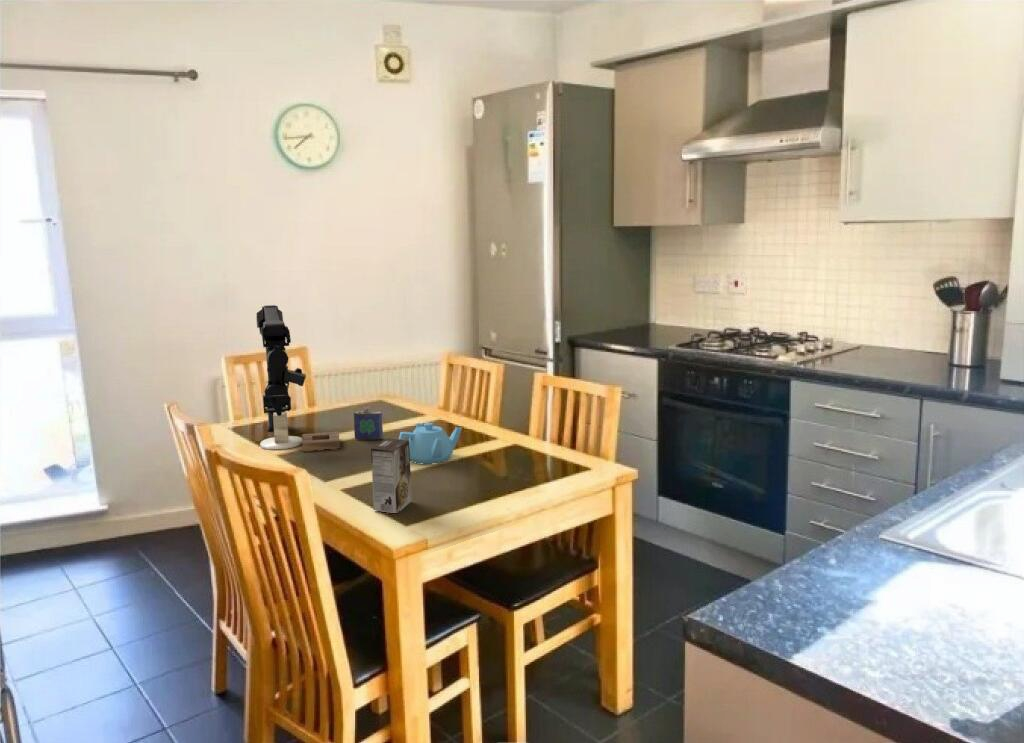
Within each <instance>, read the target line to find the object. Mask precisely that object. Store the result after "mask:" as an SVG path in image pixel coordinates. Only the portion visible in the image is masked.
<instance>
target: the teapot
mask: <svg viewBox="0 0 1024 743" xmlns="http://www.w3.org/2000/svg"><path fill="white" fill-rule="evenodd" d="M462 429H463V428H462V427H458V426H457V427H456V426H455V428H454V430H453V431H452V432H451V435H450V436H449V435H448V434H447V433H446V431H445V430H444V428H442V427H441V426H437V425H434V423H432V422H426V423H423V426H422V423H420V422H418V423H415V429H414V430H413V432H410V431H409V432H408V431H400V433H399V437H398V439H400V440H406V438H408V440H409V449H410V462H412V461H413V462H412V463H414V462H416V463H415V464H417V463H423V464H422V465H433V464H432V463H438V464H440V463H439V462H442V463H444V462H443V461H445V462H447V461H448V460H449V459H450V458H451V456H453V453H454V450H455V448H456V446H457V443H458V440H459V438H460V436H461V432H462ZM446 460H447V461H446Z"/></svg>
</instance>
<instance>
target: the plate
mask: <svg viewBox="0 0 1024 743" xmlns="http://www.w3.org/2000/svg"><path fill="white" fill-rule="evenodd" d="M288 439H289V440H288V443H278V444H275V438H274V436H273V437H269V438H266V439H263V440H262V441H261V442H260V443H259V444H260V445H259V446H260V448H262V449H264V450H268V449H269V450H271V449H273V450H271V451H279V450H278V449H283V450H289V449H288V448H290V449H294V448H293V447H295V448H298V447H300V446H301V444H302V437H300V436H295V435H288ZM299 445H300V446H299ZM297 446H298V447H297ZM274 449H275V450H274ZM276 449H277V450H276Z"/></svg>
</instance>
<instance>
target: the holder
mask: <svg viewBox="0 0 1024 743" xmlns="http://www.w3.org/2000/svg"><path fill="white" fill-rule="evenodd" d="M301 436H302V437H301V438H302V447H301V448H302V452H303V451H306V452H315V451H314V450H318V451H325V450H324V449H331V450H338V449H337V448H340V449H341V440H340V434H339V431H331V432H330V431H329V432H317V433H304V434H303V433H302V435H301Z"/></svg>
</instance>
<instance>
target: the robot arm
mask: <svg viewBox="0 0 1024 743" xmlns="http://www.w3.org/2000/svg"><path fill="white" fill-rule="evenodd" d="M255 314H256V318H255V319H256V328H257V329H259V334H260V335H261V341H262V347H263V348H265V358H266V371H267V385H266V387H265V389H264V395H262V411H263V414H267V418H268V419H267V420H268V422H267V423H268V425H267V429H266V431H267V432H272V431H273V432H274V423H273V414H274V413H277V415H278V416H281V414H282V412H291V410H292V397H291V396H290V395H289V388H290V383H292V384H296V385H297V386H299V387H303V386H304V383H305V382H306V381H305V380H306V378H307V375H306V374H305V373H303V370H302V368H299V367H297V368H296V369H295V370H293V369H292V370H291V369H289V366H288V363H289V356H288V353H287V352H286V350H287V349H286V347H289V346H290V343H292V340H291V333H290V329H289V327H288V326H287V325H286V324H285V322H284V316H283V311H281V310H280V309H279V306H278V305H275V304H273V305H271V304H269V305H263V306H261V309H260V310H258V312H256V313H255Z"/></svg>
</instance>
